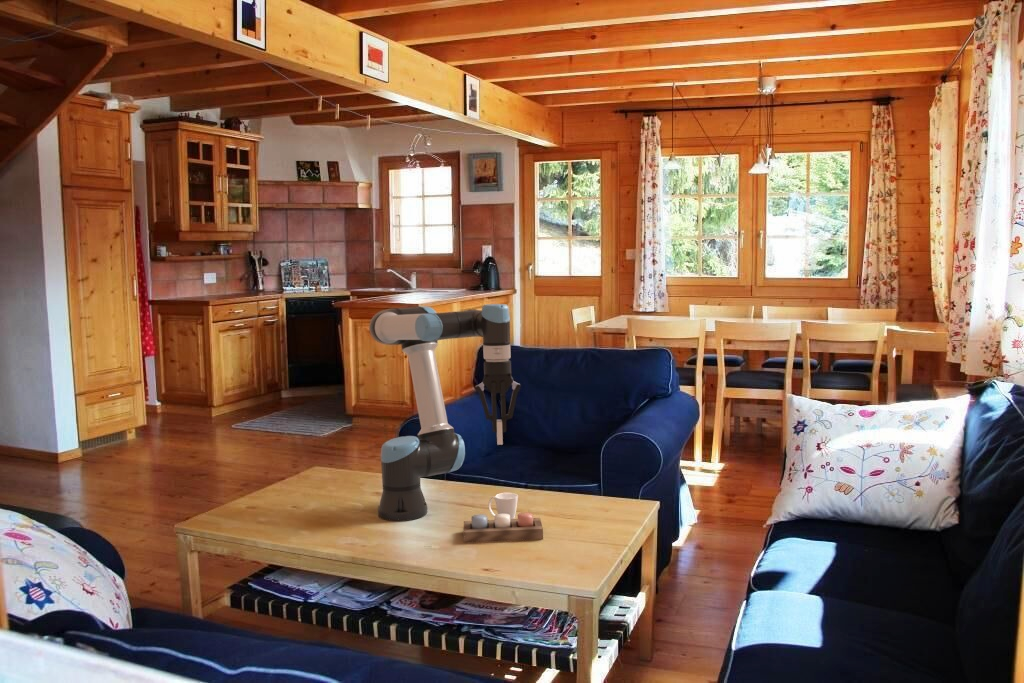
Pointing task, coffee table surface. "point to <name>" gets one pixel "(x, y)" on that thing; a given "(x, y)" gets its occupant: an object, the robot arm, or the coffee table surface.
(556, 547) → the coffee table surface
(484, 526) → the blue egg
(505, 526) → the cream rounded knob
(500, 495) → the cup
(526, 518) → the pink egg
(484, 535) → the brown compartment tray
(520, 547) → the coffee table surface
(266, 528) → the coffee table surface
